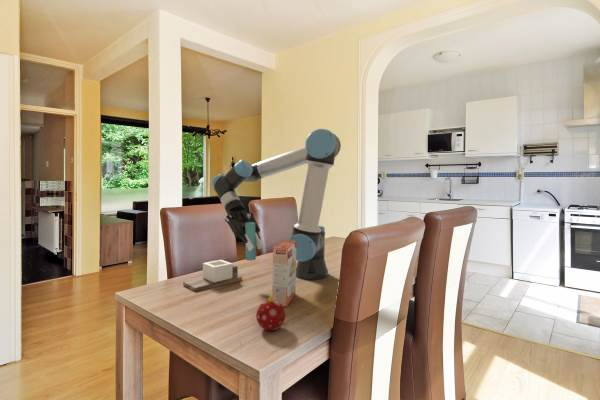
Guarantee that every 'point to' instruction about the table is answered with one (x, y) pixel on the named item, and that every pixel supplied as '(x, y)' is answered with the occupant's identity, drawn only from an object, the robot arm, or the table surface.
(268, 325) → the christmas ornament
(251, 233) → the dowel
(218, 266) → the block
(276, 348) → the table surface
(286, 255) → the cracker box
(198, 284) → the rail board
